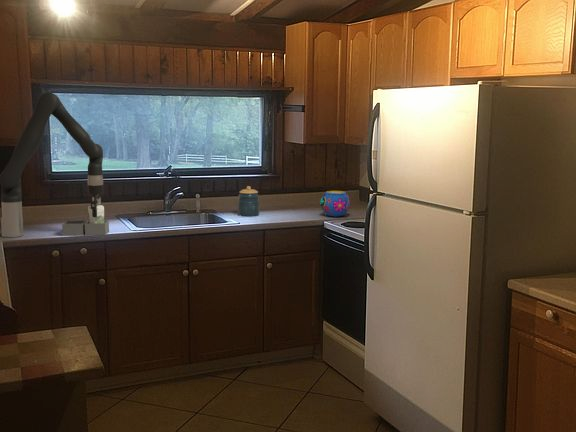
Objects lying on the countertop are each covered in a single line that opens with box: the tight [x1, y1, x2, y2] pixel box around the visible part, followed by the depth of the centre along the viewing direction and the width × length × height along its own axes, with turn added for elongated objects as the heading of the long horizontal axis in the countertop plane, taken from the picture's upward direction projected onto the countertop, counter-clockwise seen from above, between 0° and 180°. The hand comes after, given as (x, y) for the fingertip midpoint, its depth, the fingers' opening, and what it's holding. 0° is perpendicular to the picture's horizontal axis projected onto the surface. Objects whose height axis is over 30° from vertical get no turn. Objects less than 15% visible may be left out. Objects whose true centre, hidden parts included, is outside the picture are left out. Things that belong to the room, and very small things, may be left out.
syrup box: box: [87, 204, 105, 224], centre depth 330 cm, size 6×6×14 cm
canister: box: [237, 185, 260, 217], centre depth 394 cm, size 13×13×18 cm
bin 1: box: [61, 220, 88, 237], centre depth 330 cm, size 10×10×6 cm
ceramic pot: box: [319, 190, 351, 218], centre depth 392 cm, size 18×18×15 cm
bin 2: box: [84, 219, 110, 237], centre depth 331 cm, size 10×10×6 cm
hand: (96, 215), depth 330 cm, fingers open, 8 cm apart
